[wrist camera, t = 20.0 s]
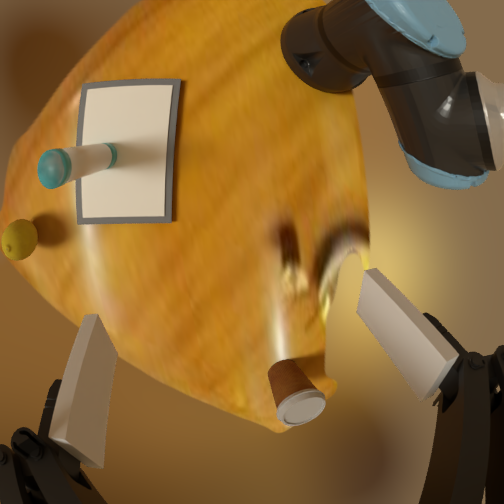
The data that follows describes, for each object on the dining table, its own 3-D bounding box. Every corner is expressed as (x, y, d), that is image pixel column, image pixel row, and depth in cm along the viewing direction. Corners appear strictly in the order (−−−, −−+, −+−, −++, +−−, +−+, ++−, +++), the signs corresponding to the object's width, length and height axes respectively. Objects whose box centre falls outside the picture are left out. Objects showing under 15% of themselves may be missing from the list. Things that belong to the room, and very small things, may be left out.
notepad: (180, 80, 31) (181, 78, 30) (171, 221, 38) (171, 223, 37) (84, 85, 27) (82, 83, 26) (79, 223, 34) (77, 224, 33)
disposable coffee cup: (253, 367, 52) (272, 412, 41) (296, 346, 52) (323, 387, 42) (268, 391, 56) (287, 432, 45) (307, 372, 56) (331, 411, 46)
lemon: (14, 220, 30) (-12, 235, 23) (38, 208, 31) (13, 222, 24) (25, 252, 33) (2, 273, 25) (50, 242, 34) (27, 263, 26)
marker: (108, 136, 30) (53, 141, 19) (122, 158, 31) (70, 172, 20) (89, 153, 31) (32, 166, 20) (102, 175, 32) (48, 196, 21)
